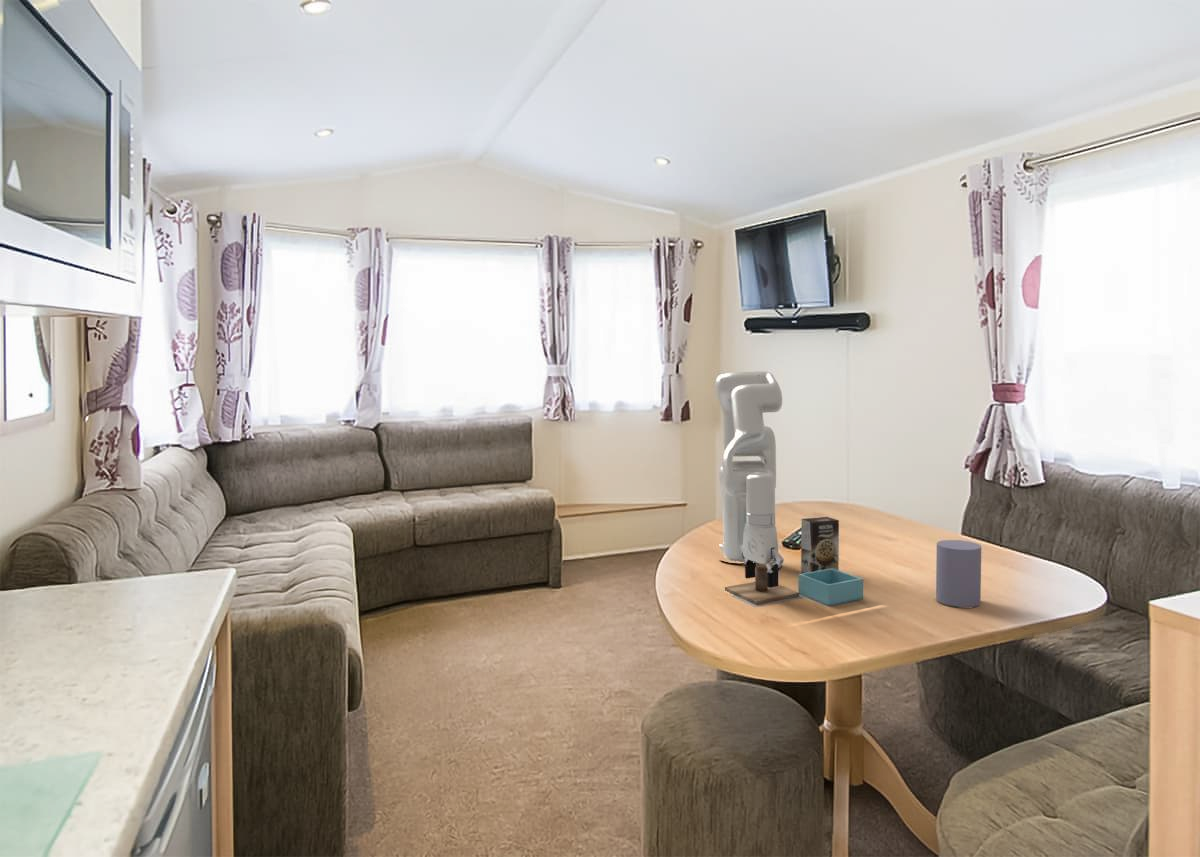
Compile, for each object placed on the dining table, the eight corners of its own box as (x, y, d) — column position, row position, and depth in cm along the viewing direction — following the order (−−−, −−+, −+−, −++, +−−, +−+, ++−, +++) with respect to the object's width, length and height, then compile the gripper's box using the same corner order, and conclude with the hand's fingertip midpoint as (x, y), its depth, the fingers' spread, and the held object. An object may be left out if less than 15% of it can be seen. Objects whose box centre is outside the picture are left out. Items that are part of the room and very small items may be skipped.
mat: (719, 592, 207) (719, 590, 207) (767, 583, 214) (767, 581, 214) (755, 609, 193) (755, 606, 193) (804, 599, 200) (804, 596, 199)
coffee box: (812, 577, 219) (811, 522, 217) (800, 571, 225) (800, 518, 224) (839, 574, 221) (839, 519, 220) (827, 568, 228) (827, 515, 226)
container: (937, 593, 201) (937, 538, 200) (980, 598, 196) (981, 541, 195) (934, 605, 192) (935, 547, 190) (980, 610, 187) (981, 551, 186)
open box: (798, 596, 202) (798, 574, 202) (832, 589, 207) (832, 568, 206) (828, 608, 192) (828, 585, 191) (863, 601, 196) (863, 578, 196)
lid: (724, 590, 207) (724, 565, 206) (766, 583, 213) (766, 558, 212) (756, 605, 194) (755, 578, 193) (799, 596, 200) (799, 570, 199)
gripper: (730, 515, 208) (731, 576, 209) (769, 526, 192) (770, 592, 193) (752, 512, 211) (753, 572, 212) (793, 523, 195) (793, 588, 197)
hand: (761, 582), depth 203 cm, fingers open, 9 cm apart
